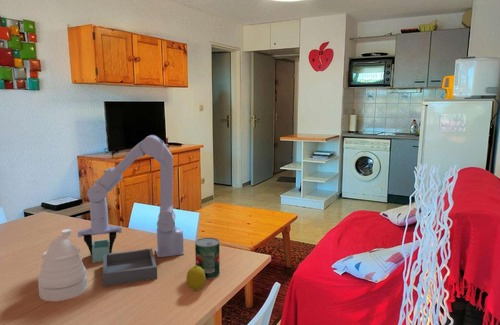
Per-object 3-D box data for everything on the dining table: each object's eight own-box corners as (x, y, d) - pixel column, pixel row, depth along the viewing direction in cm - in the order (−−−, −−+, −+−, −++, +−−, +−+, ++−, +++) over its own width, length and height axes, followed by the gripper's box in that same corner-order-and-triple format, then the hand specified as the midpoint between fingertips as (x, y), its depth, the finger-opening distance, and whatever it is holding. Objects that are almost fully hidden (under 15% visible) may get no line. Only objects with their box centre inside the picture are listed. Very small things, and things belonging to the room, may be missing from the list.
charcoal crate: (152, 259, 132) (151, 248, 132) (157, 278, 118) (156, 266, 117) (104, 265, 127) (103, 254, 126) (103, 286, 112) (102, 274, 112)
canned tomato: (191, 272, 122) (190, 241, 120) (210, 266, 127) (210, 235, 125) (204, 281, 116) (203, 248, 114) (224, 274, 121) (224, 242, 119)
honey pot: (75, 276, 119) (71, 222, 116) (95, 288, 111) (91, 231, 108) (31, 291, 109) (26, 233, 107) (50, 306, 101) (45, 243, 98)
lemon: (202, 296, 107) (201, 270, 106) (184, 294, 108) (183, 268, 107) (208, 287, 112) (207, 262, 111) (190, 285, 113) (190, 260, 112)
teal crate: (109, 251, 139) (109, 239, 138) (109, 260, 131) (109, 246, 130) (93, 254, 137) (93, 241, 136) (92, 262, 129) (91, 249, 129)
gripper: (120, 212, 138) (122, 246, 140) (77, 216, 133) (80, 251, 135) (121, 217, 131) (122, 253, 133) (76, 221, 126) (78, 259, 128)
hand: (101, 253), depth 134 cm, fingers closed on teal crate, 6 cm apart
